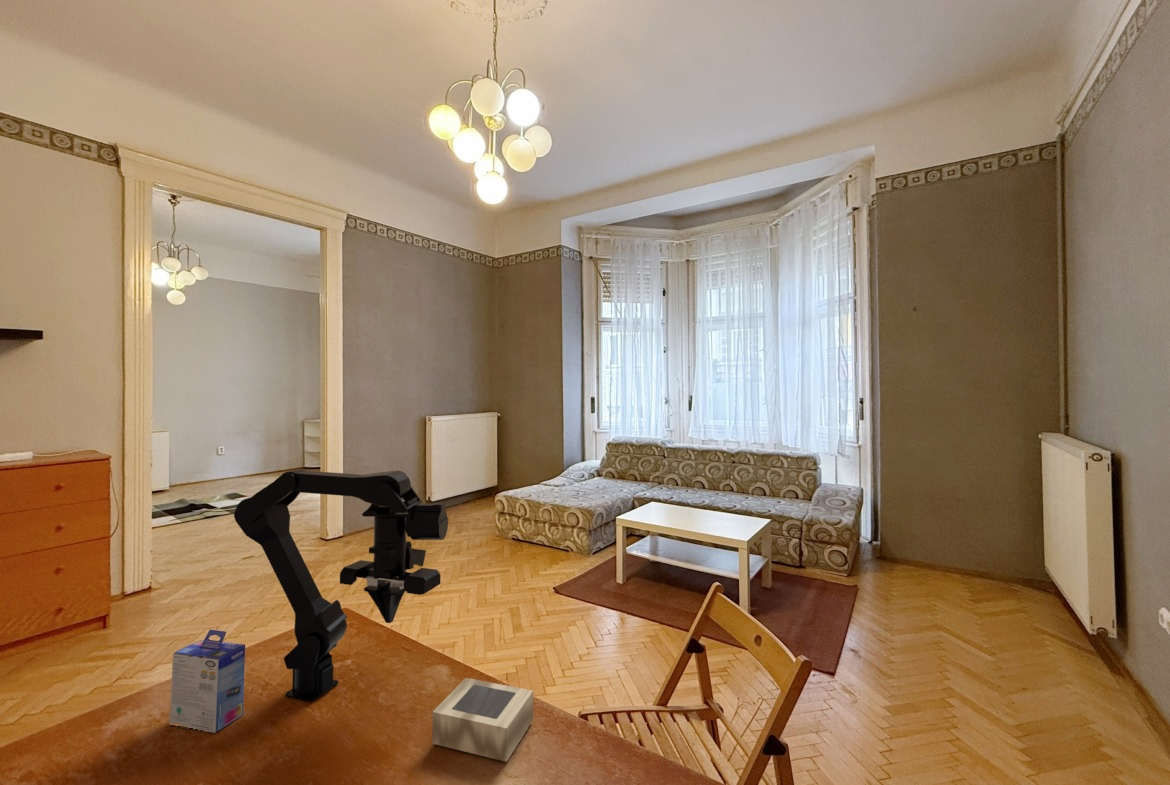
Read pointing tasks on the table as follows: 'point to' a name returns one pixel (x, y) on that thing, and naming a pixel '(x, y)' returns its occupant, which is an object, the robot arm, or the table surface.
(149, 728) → the table surface
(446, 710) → the birch block
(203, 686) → the ink cartridge box
